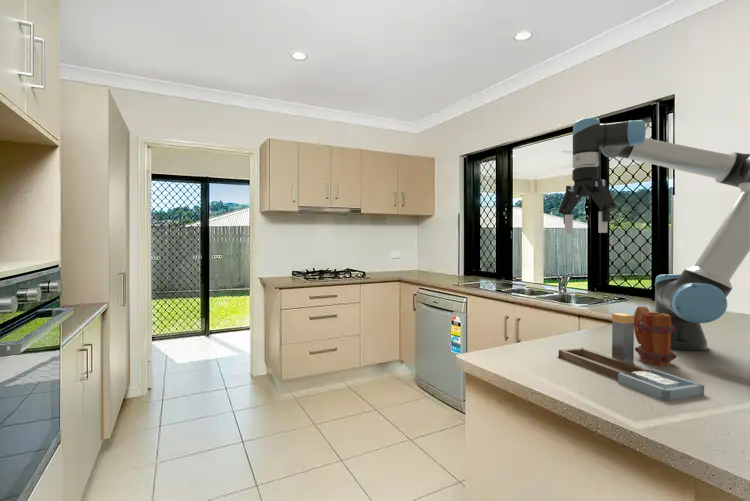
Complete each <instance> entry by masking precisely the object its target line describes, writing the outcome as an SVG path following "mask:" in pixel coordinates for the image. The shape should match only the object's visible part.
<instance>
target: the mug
mask: <svg viewBox="0 0 750 501" xmlns="http://www.w3.org/2000/svg"><path fill="white" fill-rule="evenodd" d="M633 315H634V336H635V338H636V341H637V343H638V345H639V346H636V347H634V351H635V352H636V353H637V354H638V356H639V358H640V361H641V362H644V363H648V364H650V365H654V366H661V367H663V366H666V367H669V366H670V365H671V362H672V361H674V360H675V359H676V358H677V355H676V354H675V353H674V352H673V351H672V350H671V349H672V348H671V333H673V332H675V331H676V328H674V327H673V325H671V316H670V315H668V314H664V313H661V314H659V313H657V312H655V311H650V309H649V308H648V307H647V306H637V307H636V309H635V311H634V314H633Z"/></svg>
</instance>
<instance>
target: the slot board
mask: <svg viewBox="0 0 750 501" xmlns="http://www.w3.org/2000/svg"><path fill="white" fill-rule="evenodd" d="M556 358H559V359H561V360H564V361H566V362H569V363H571V364H574V365H576V366H579V367H581V368H584V369H586V370H589V371H591V372H595V373H596V374H599V375H602V376H604V377H607V378H609V379H611V380H612V379H613V380H615V381H617V382H618V373H623V374H626V375H629V376H631V372H638V371H647V372H649V373H650V369H648V368H645V367H641V366H638V365H636V364H634V363H632V364H630V363H627V362H624V361H621V360H618V359H615V358H612V356H608V355H605V354H602V353H600V352H595V351H593V350H590V349H587V348H584V347H577V348H565V349H559V350H558V355H557V356H556Z"/></svg>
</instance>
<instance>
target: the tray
mask: <svg viewBox="0 0 750 501" xmlns="http://www.w3.org/2000/svg"><path fill="white" fill-rule="evenodd" d="M649 373H652V374H655V375H658V376H661V377H664V378H667V379H670V380H672V381H675V382H678V383H679V387H673V388H666V389H664V388H662V387H659V386H656V385H654V384H651V383H648V382H645V381H643V380H640V379H637V378H634V377H632V376H629V375H626V374H623V373H618V381H617V382H618V383H620V384H621V385H622V384H623V385H625V386H628V387H630V388H632V389H635V390H637V391H640V392H643V393H645V394H647V395H651V396H653V397H654V398H655V397H656V398H658V399H660V400H663V401H665V402H668V401H674V400H680V399H687V398H693V397H698V396H704V395H705V385H704V384H702V383H699V382H696V381H693V380H690V379H686V378H684V377H680V376H678V375H673V374H671V373H669V372H665V371H661V370H658V369H656V368H650V369H649Z"/></svg>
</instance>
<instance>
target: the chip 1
mask: <svg viewBox="0 0 750 501" xmlns="http://www.w3.org/2000/svg"><path fill="white" fill-rule="evenodd" d="M631 376H632V377H634V378H637V379H640V380H643V381H645V382H647V379H648V378H653V377H661V376H658V375H655V374H652V373H650V371H649V372H647V371H638V372H631Z"/></svg>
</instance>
